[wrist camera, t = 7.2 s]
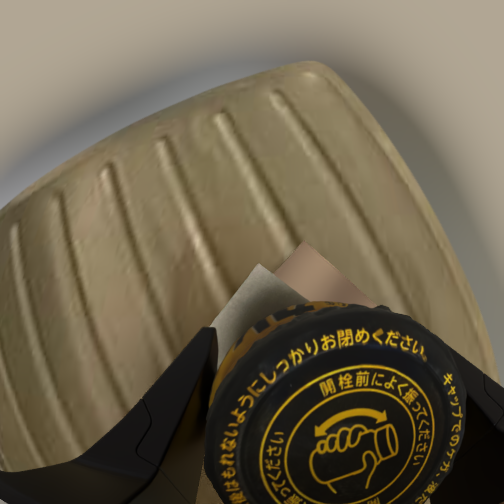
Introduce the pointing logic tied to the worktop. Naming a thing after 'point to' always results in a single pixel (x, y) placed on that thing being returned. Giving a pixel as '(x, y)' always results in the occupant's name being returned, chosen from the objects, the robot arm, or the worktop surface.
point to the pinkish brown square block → (319, 278)
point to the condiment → (328, 402)
